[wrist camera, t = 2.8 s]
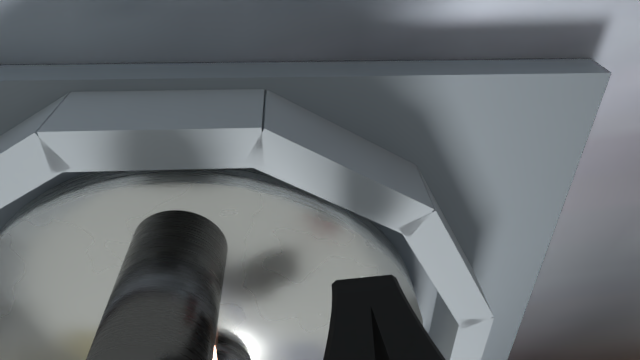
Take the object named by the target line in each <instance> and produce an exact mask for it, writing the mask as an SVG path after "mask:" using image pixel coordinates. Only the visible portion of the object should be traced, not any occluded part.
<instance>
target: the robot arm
mask: <svg viewBox="0 0 640 360" xmlns="http://www.w3.org/2000/svg"><path fill="white" fill-rule="evenodd" d="M331 285H332V308H331V318H330V325H329V332H328V338H327V343H326V348H325V353H324V357H323V360H445V358H444V357H443V355H442V354H441V352H440V351H439V349H438V348H437V346H436V345H435V344H434V342H433V341H432V339H431V338H430V336H429V335H428V333H427V332H426V330H425V328H424V327H423V325H422V324H421V322H420V320H419V319H418V317H417V316H416V314H415V312H414V311H413V309H412V307H411V305H410V304H409V302H408V300H407V298H406V296H405V295H404V293H403V291H402V289H401V287H400V285H399V283H398V280H397V278H396V277H394V276H393V275H382V276H372V277H362V278H352V279H342V280H336V281H335V282H334V283H332V284H331Z"/></svg>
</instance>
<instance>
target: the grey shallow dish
mask: <svg viewBox="0 0 640 360" xmlns="http://www.w3.org/2000/svg"><path fill="white" fill-rule="evenodd" d="M610 75H611V72H609V71H608V70H607V69H605V68H604V67H602V66H601V65H599V64H598V63H597V62H595V61H594V60H592V59H512V60H421V61H330V62H239V63H149V64H58V65H0V231H1V230H2V228H3V227H4V226H5V224H6V223H7V222H8V221H9V220H10V219H11V218H12V217H14V216H15V215H16V214H17V213H18V212H19V211H20V210H21V209H22V208H23V207H24V206H25V205H27V204H28V203H30V202H31V201H32V200H34V199H35V198H37V197H38V196H40V195H41V194H43V193H44V192H46V191H47V190H49V189H51V188H53V187H55V186H57V185H59V184H61V183H63V182H65V181H67V180H69V179H72V178H74V177H76V176H79V175H82V174H85V173H88V172H96V171H138V170H181V169H224V168H255V169H257V170H259V171H261V172H264V173H266V174H268V175H271V176H273V177H275V178H277V179H280V180H282V181H284V182H286V183H289V184H291V185H293V186H295V187H298V188H300V189H302V190H304V191H307V192H309V193H311V194H313V195H316V196H318V197H320V198H322V199H325V200H327V201H329V202H331V203H334V204H336V205H338V206H341V207H343V208H345V209H347V210H350V211H352V212H354V213H356V214H359V215H361V216H363V217H365V218H368V219H370V220H371V221H372V222H373V223H374V224H375V225H376V226H377V227H378V228H379V229H380V230H381V231H382V232H383V233H384V234H385V235H386V237H387V238H388V239H389V240H390V242H391V243H392V244H393V246H394V247H395V248H396V249H397V251H398V253H399V254H400V256H401V258H402V260H403V262H404V264H405V266H406V268H407V270H408V272H409V276H410V279H411V282H412V285H413V288H414V292H415V295H416V299H417V302H418V305H419V309H420V312H421V316H422V320H423V327H424V328H425V330H426V332H427V333H428V335H429V336H430V338H431V339H432V341H433V342H434V344H435V345H436V346H437V348H438V349H439V351H440V352H441V354H442V355H443V357H444V358H445V360H508V357H509V354H510V351H511V349H512V346H513V343H514V340H515V337H516V335H517V332H518V329H519V326H520V324H521V321H522V318H523V315H524V313H525V310H526V307H527V304H528V302H529V299H530V296H531V293H532V291H533V288H534V285H535V282H536V280H537V277H538V274H539V271H540V269H541V266H542V263H543V260H544V257H545V255H546V252H547V249H548V246H549V244H550V241H551V238H552V235H553V233H554V230H555V227H556V224H557V222H558V219H559V216H560V213H561V211H562V208H563V205H564V202H565V200H566V197H567V194H568V191H569V189H570V186H571V183H572V180H573V178H574V175H575V172H576V169H577V166H578V164H579V161H580V158H581V155H582V153H583V150H584V147H585V144H586V142H587V139H588V136H589V133H590V131H591V128H592V125H593V122H594V120H595V117H596V114H597V111H598V109H599V106H600V103H601V100H602V98H603V95H604V92H605V89H606V87H607V84H608V81H609V78H610Z"/></svg>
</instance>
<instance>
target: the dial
mask: <svg viewBox="0 0 640 360" xmlns="http://www.w3.org/2000/svg"><path fill="white" fill-rule="evenodd" d="M382 275H393V276H394V277H396V278H397V280H398V283H399V285H400V287H401V289H402V291H403V293H404V295H405V296H406V298H407V300H408V302H409V304H410V305H411V307H412V309H413V311H414V312H415V314H416V316H417V317H418V319H419V320H420V322H421V324H422V325H423V320H422V316H421V312H420V309H419V305H418V302H417V299H416V295H415V292H414V288H413V285H412V282H411V279H410V276H409V272H408V270H407V268H406V266H405V264H404V262H403V260H402V258H401V256H400V254H399V253H398V251H397V249H396V248H395V247H394V246H393V244H392V243H391V242H390V240H389V239H388V238H387V237H386V235H385V234H384V233H383V232H382V231H381V230H380V229H379V228H378V227H377V226H376V225H375V224H374V223H373V222H372V221H371V220H370V219H368V218H365V217H363V216H361V215H359V214H356V213H354V212H352V211H350V210H347V209H345V208H343V207H341V206H338V205H336V204H334V203H331V202H329V201H327V200H325V199H322V198H320V197H318V196H316V195H313V194H311V193H309V192H307V191H304V190H302V189H300V188H298V187H295V186H293V185H291V184H289V183H286V182H284V181H282V180H280V179H277V178H275V177H273V176H271V175H268V174H266V173H264V172H261V171H259V170H257V169H255V168H224V169H181V170H138V171H96V172H88V173H85V174H82V175H79V176H76V177H74V178H72V179H69V180H67V181H65V182H63V183H61V184H59V185H57V186H55V187H53V188H51V189H49V190H47V191H46V192H44V193H43V194H41V195H40V196H38V197H37V198H35V199H34V200H32V201H31V202H30V203H28V204H27V205H25V206H24V207H23V208H22V209H21V210H20V211H19V212H18V213H17V214H16V215H15V216H14V217H12V218H11V219H10V220H9V221H8V222H7V223H6V224H5V226H4V227H3V228H2V230H1V231H0V360H323V357H324V353H325V348H326V343H327V338H328V332H329V325H330V318H331V308H332V285H331V284H332V283H334V282H335V281H336V280H342V279H352V278H362V277H372V276H382Z"/></svg>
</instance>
